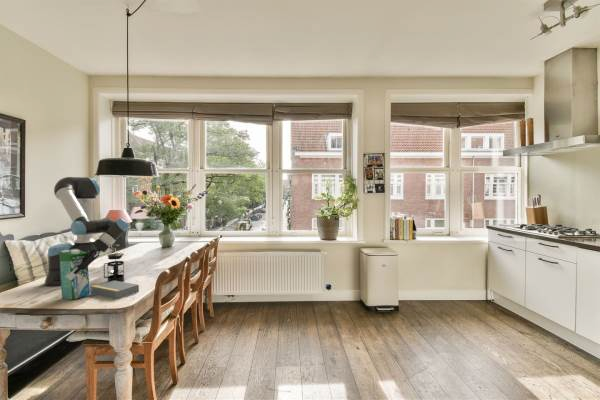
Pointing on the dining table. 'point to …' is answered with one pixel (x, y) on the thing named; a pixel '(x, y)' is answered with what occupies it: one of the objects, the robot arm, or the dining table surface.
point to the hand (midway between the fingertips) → (68, 278)
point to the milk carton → (80, 281)
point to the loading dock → (114, 289)
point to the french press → (115, 267)
